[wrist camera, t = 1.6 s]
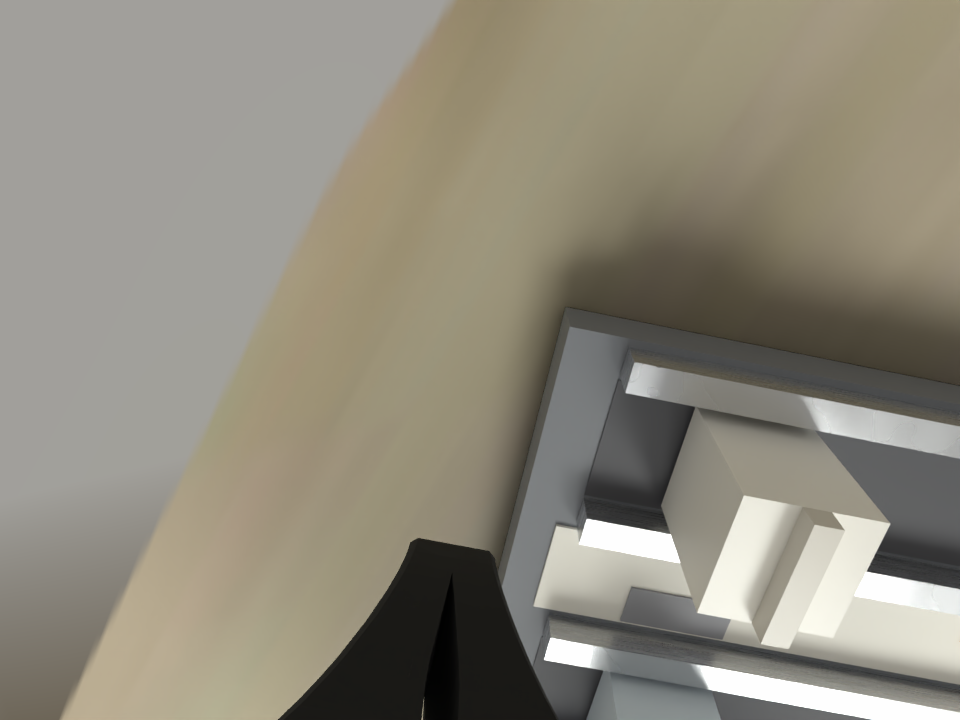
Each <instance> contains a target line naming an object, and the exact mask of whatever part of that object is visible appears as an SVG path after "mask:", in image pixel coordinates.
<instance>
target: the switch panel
mask: <svg viewBox="0 0 960 720" xmlns="http://www.w3.org/2000/svg"><path fill="white" fill-rule="evenodd" d="M695 407H699V408H704V409H709V410H714V411H720V412H725V413H730V414H735V415H740V416H745V417H750V418H755V419H760V420H765V421H770V422H776V423H781V424H786V425H791V426H796V427H801V428H806V429H811V430H815V432H816V433H817V434H818V435H819V436H820V438H821V439H822V440H823V441H824V443H825V444H826V445H827V446H828V448H829V449H830V450H831V451H832V452H833V454H834V455H835V456H836V457H837V459H838V460H839V461H840V462H841V463H842V465H843V466H844V467H845V468H846V470H847V471H848V472H849V473H850V474H851V476H852V477H853V478H854V479H855V481H856V482H857V483H858V484H859V485H860V487H861V488H862V489H863V490H864V492H865V493H866V494H867V495H868V497H869V498H870V499H871V500H872V501H873V503H874V504H875V505H876V506H877V508H878V509H879V510H880V511H881V512H882V514H883V515H884V516H885V517H886V519H887V520H888V521H889V522H890V523H891V524H890V526H889V528H888V530H887V532H886V534H885V536H884V538H883V540H882V542H881V544H880V546H879V548H878V550H877V552H876V554H875V556H874V558H873V560H872V562H871V564H870V566H869V568H868V570H867V572H866V574H865V576H864V578H863V580H862V581H861V583H860V585H859V587H858V589H857V591H856V593H855V595H854V597H853V599H852V601H851V603H850V605H849V607H848V609H847V611H846V613H845V615H844V617H843V619H842V621H841V623H840V625H839V627H838V629H837V631H836V633H835V635H834V637H833V638H829V637H824V636H819V635H813V634H808V633H802V632H797V633H796V635H795V637H794V639H793V642H792V644H791V646H790V648H789V649H784V648H779V647H773V646H768V645H763V644H760V642H759V639H758V637H757V634H756V632H755V630H754V627H753V625H752V623H748V622H743V621H738V620H732V619H727V618H721V617H716V616H711V615H705V614H700V613H697V611H696V609H695V606H694V603H693V600H692V597H691V594H690V591H689V588H688V585H687V582H686V579H685V576H684V573H683V570H682V567H681V564H680V561H679V558H678V555H677V552H676V549H675V546H674V543H673V540H672V537H671V534H670V531H669V528H668V525H667V522H666V519H665V516H664V513H663V510H662V507H661V504H662V501H663V499H664V496H665V493H666V490H667V487H668V484H669V481H670V478H671V476H672V473H673V470H674V467H675V464H676V461H677V458H678V456H679V453H680V450H681V447H682V444H683V441H684V438H685V436H686V433H687V430H688V427H689V424H690V421H691V418H692V416H693V413H694V410H695ZM498 576H499V579H500V583H501V586H502V589H503V593H504V596H505V599H506V602H507V605H508V608H509V610H510V613H511V616H512V619H513V621H514V624H515V627H516V629H517V631H518V634H519V636H520V639H521V641H522V644H523V646H524V649H525V651H526V653H527V656H528V658H529V660H530V662H531V665H532V667H533V669H534V671H535V673H536V676H537V678H538V680H539V682H540V684H541V686H542V688H543V690H544V692H545V694H546V696H547V698H548V700H549V702H550V704H551V706H552V708H553V710H554V711H555V713H556V715H557V717H558V719H559V720H586V719H587V716H588V713H589V710H590V707H591V705H592V702H593V699H594V696H595V693H596V690H597V687H598V685H599V682H600V679H601V676H602V673H603V671H609V672H614V673H620V674H625V675H631V676H636V677H642V678H647V679H653V680H658V681H664V682H669V683H675V684H680V685H686V686H692V687H697V688H703V689H708V690H712V693H713V697H714V700H715V703H716V706H717V709H718V712H719V715H720V719H721V720H960V386H957V385H952V384H947V383H942V382H937V381H932V380H927V379H922V378H917V377H912V376H907V375H902V374H897V373H892V372H887V371H882V370H877V369H872V368H867V367H862V366H857V365H853V364H848V363H843V362H838V361H833V360H828V359H823V358H818V357H813V356H808V355H803V354H798V353H793V352H788V351H783V350H778V349H773V348H768V347H763V346H758V345H753V344H748V343H743V342H738V341H733V340H728V339H723V338H718V337H713V336H708V335H703V334H698V333H693V332H688V331H683V330H678V329H673V328H668V327H663V326H658V325H653V324H648V323H643V322H638V321H633V320H628V319H623V318H618V317H613V316H608V315H603V314H598V313H593V312H588V311H583V310H578V309H573V308H568V307H565V311H564V315H563V319H562V323H561V327H560V331H559V335H558V338H557V342H556V346H555V350H554V354H553V358H552V362H551V366H550V370H549V374H548V378H547V382H546V385H545V389H544V393H543V397H542V401H541V405H540V409H539V413H538V417H537V421H536V425H535V428H534V432H533V436H532V440H531V444H530V448H529V452H528V456H527V460H526V464H525V468H524V472H523V475H522V479H521V483H520V487H519V491H518V495H517V499H516V503H515V507H514V511H513V515H512V518H511V522H510V526H509V530H508V534H507V538H506V542H505V546H504V550H503V554H502V558H501V562H500V565H499V569H498Z"/></svg>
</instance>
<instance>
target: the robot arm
mask: <svg viewBox="0 0 960 720" xmlns="http://www.w3.org/2000/svg"><path fill="white" fill-rule="evenodd" d="M423 699H424V712H423V720H559V719H558V717H557V715H556V713H555V711H554V710H553V708H552V706H551V704H550V702H549V700H548V698H547V696H546V694H545V692H544V690H543V688H542V686H541V684H540V682H539V680H538V678H537V676H536V673H535V671H534V669H533V667H532V665H531V662H530V660H529V658H528V656H527V653H526V651H525V649H524V646H523V644H522V641H521V639H520V636H519V634H518V631H517V629H516V627H515V624H514V621H513V619H512V616H511V613H510V610H509V608H508V605H507V602H506V599H505V596H504V593H503V589H502V586H501V583H500V579H499V576H498V572H497V568H496V563H495V558H494V557H493V555H492V554H491V553H490V551H485V550H480V549H474V548H469V547H464V546H458V545H453V544H447V543H442V542H437V541H431V540H426V539H421V538H418V539H416V540H414V541H412V542H410V545H409V549H408V552H407V554H406V556H405V559H404V561H403V563H402V565H401V567H400V569H399V571H398V573H397V574H396V576H395V578H394V579H393V581H392V583H391V585H390V586H389V588H388V590H387V591H386V593H385V594H384V596H383V597H382V599H381V600H380V601H379V603H378V604H377V606H376V607H375V609H374V610H373V612H372V613H371V615H370V616H369V618H368V619H367V620H366V622H365V623H364V625H363V626H362V627H361V628H360V630H359V631H358V632H357V633H356V635H355V636H354V637H353V638H352V640H351V641H350V642H349V644H348V645H347V646H346V647H345V649H344V650H343V651H342V652H341V654H340V655H339V656H338V657H337V658H336V660H335V661H334V662H333V663H332V664H331V665H330V667H329V668H328V669H327V670H326V671H325V672H324V673H323V674H322V676H321V677H320V678H319V679H318V680H317V681H316V682H315V683H314V684H313V685H312V686H311V687H310V688H309V689H308V690H307V692H306V693H305V694H304V695H303V696H302V697H301V698H300V699H299V700H298V701H297V702H296V703H295V704H294V705H293V706H292V707H291V708H290V709H288V710H287V711H286V712H285V713H284V714H283V715H282V716H281V717H280V718H279V719H278V720H421V717H422V708H423Z"/></svg>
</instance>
